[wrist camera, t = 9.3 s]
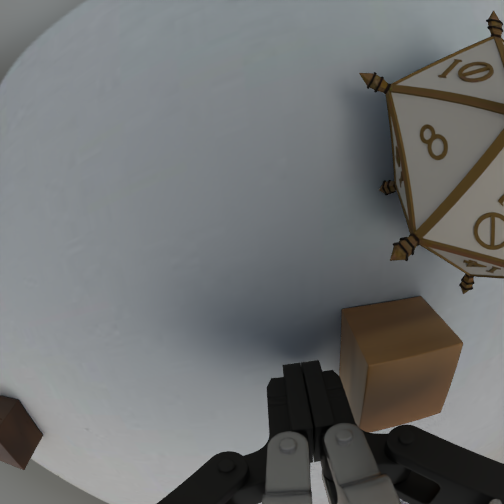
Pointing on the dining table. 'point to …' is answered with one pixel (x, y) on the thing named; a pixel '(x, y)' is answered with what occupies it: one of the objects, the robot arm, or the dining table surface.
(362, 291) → the dining table surface
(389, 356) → the oak block
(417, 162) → the game die
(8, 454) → the walnut block
